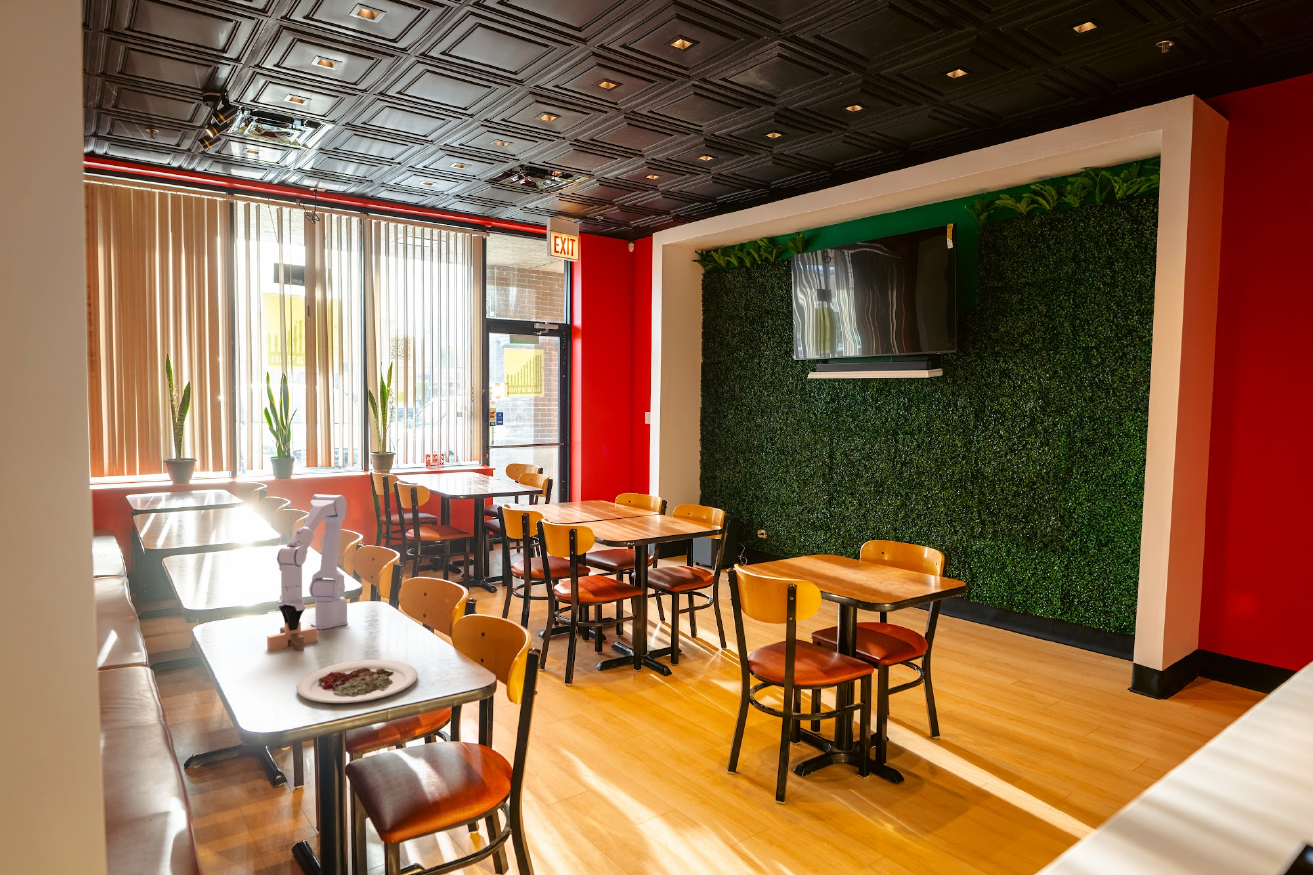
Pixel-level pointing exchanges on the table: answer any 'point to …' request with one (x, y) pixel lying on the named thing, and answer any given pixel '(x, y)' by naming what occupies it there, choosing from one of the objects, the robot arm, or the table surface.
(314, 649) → the table surface
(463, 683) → the table surface
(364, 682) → the plated food
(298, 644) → the walnut notched bar
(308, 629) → the salmon stepped block
